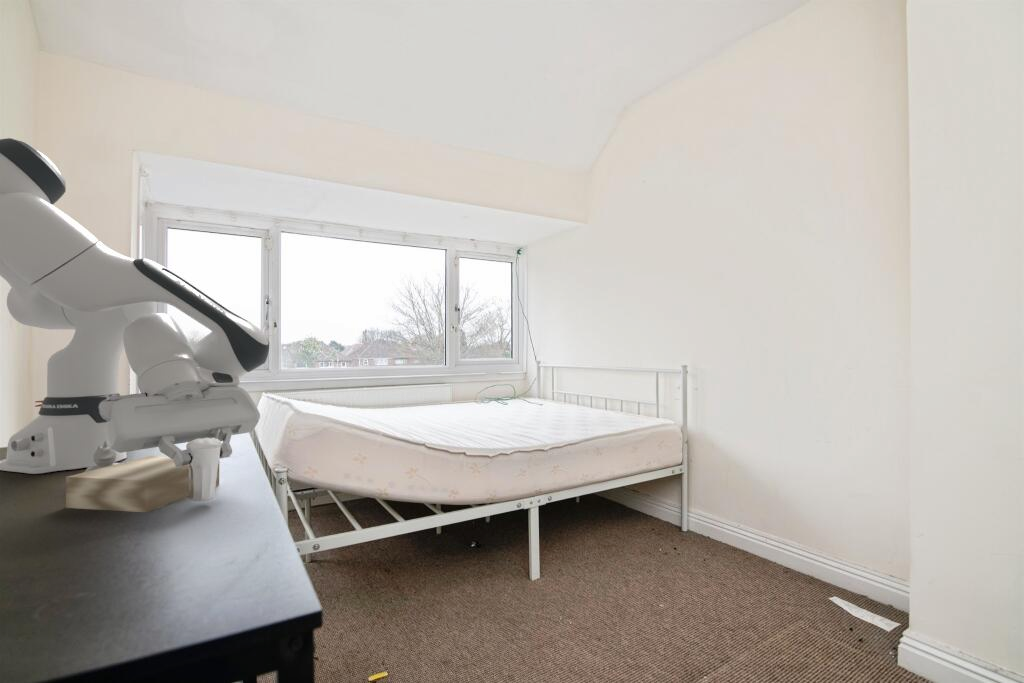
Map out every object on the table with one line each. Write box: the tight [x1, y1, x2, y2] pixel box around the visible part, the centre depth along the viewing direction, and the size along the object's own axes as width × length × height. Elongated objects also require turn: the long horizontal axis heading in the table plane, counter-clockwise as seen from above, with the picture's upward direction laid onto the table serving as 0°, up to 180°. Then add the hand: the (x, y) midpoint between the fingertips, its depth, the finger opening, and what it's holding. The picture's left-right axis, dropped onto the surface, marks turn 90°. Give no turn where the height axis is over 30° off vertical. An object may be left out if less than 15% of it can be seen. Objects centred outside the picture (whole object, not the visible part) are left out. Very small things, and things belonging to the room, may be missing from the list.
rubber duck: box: [84, 440, 120, 472], centre depth 84 cm, size 5×7×8 cm
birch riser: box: [65, 455, 220, 513], centre depth 78 cm, size 14×14×5 cm
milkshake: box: [185, 429, 222, 502], centre depth 73 cm, size 4×5×10 cm
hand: (205, 459), depth 73 cm, fingers closed on milkshake, 4 cm apart
